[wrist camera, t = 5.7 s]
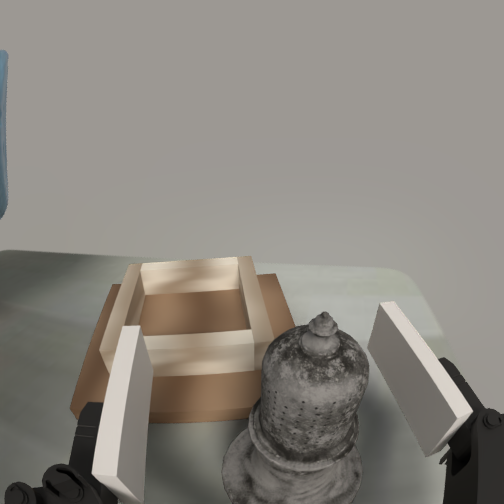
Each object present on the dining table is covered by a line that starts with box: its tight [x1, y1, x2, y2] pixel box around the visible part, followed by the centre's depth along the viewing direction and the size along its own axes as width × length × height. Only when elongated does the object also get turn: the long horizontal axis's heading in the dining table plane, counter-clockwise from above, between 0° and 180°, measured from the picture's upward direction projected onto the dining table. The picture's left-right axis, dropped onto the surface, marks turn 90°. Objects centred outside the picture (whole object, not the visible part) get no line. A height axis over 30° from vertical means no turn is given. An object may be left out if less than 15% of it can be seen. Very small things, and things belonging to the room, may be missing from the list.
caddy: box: [70, 256, 295, 423], centre depth 22 cm, size 15×14×4 cm
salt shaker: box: [222, 312, 369, 504], centre depth 10 cm, size 6×6×12 cm
